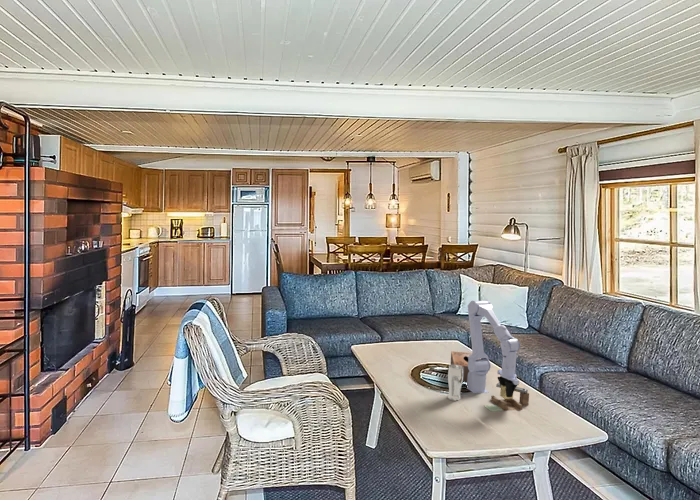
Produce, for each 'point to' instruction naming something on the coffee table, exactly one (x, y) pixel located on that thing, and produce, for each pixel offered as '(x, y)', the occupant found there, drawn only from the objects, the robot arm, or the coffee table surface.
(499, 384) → the lever
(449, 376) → the beer glass
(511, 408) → the body
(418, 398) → the coffee table surface
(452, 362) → the tissue box cover
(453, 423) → the coffee table surface
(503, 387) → the tan cube
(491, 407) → the pad
